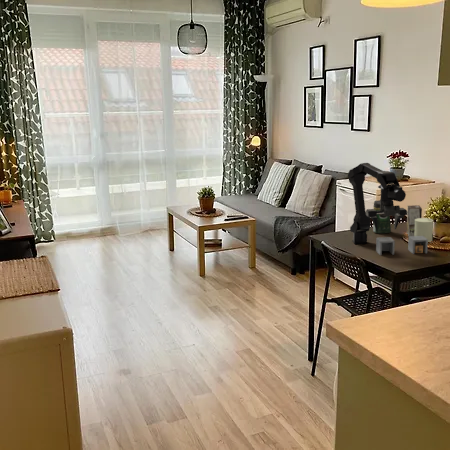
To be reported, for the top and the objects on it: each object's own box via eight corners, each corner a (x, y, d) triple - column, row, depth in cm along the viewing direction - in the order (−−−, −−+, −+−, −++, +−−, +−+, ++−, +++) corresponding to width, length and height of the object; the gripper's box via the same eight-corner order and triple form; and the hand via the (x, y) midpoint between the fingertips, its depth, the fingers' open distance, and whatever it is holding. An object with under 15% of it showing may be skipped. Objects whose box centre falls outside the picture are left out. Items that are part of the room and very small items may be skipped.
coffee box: (421, 237, 278) (422, 208, 274) (408, 237, 279) (409, 208, 276) (418, 233, 287) (419, 205, 283) (406, 233, 288) (407, 205, 284)
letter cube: (415, 253, 252) (415, 246, 251) (412, 251, 256) (413, 244, 255) (422, 252, 252) (423, 245, 251) (420, 250, 256) (420, 243, 255)
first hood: (379, 255, 251) (380, 241, 250) (376, 251, 258) (376, 237, 257) (394, 254, 251) (394, 240, 250) (390, 250, 258) (390, 237, 256)
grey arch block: (412, 253, 251) (413, 240, 249) (408, 249, 258) (408, 236, 256) (427, 253, 251) (427, 239, 249) (422, 249, 258) (422, 235, 256)
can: (434, 243, 266) (435, 221, 263) (415, 243, 268) (416, 221, 265) (430, 238, 275) (431, 217, 272) (412, 238, 277) (413, 217, 274)
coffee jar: (388, 230, 296) (389, 198, 291) (392, 233, 288) (393, 201, 284) (371, 230, 297) (372, 199, 292) (374, 234, 289) (375, 202, 284)
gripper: (371, 202, 241) (370, 234, 244) (411, 200, 240) (410, 232, 244) (365, 197, 251) (365, 228, 255) (404, 196, 251) (402, 227, 255)
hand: (385, 229), depth 252 cm, fingers open, 9 cm apart
